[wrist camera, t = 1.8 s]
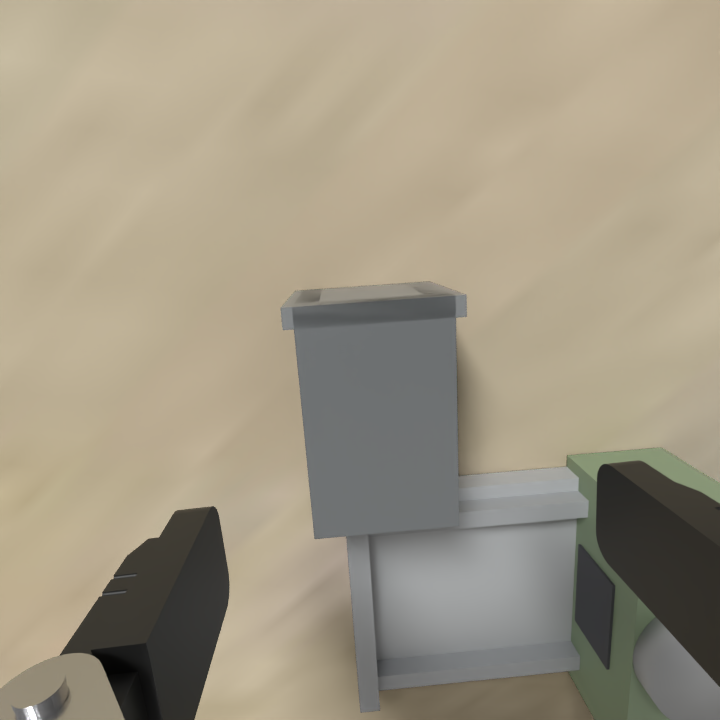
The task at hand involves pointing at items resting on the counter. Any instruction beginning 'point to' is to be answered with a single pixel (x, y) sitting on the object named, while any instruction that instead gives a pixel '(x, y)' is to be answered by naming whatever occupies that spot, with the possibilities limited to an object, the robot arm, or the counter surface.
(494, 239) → the counter surface
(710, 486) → the drawer with ball knob
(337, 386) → the grey lidded bin
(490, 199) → the counter surface
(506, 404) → the counter surface
